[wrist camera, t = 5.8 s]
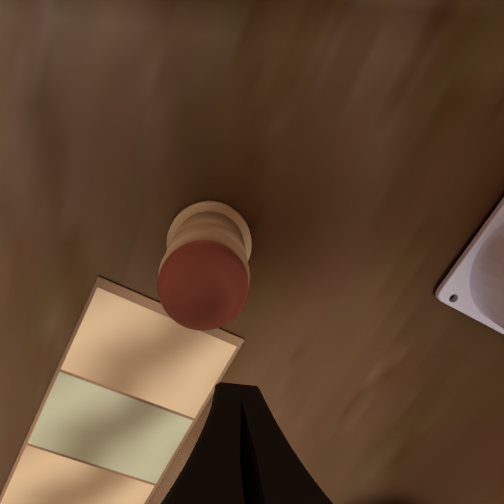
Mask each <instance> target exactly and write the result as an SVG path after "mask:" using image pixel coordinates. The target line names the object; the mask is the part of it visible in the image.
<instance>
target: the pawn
mask: <svg viewBox="0 0 504 504" xmlns="http://www.w3.org/2000/svg"><path fill="white" fill-rule="evenodd" d="M166 243H167V251H166V253H165V255H164V257H163V259H162V261H161V264H160V267H159V273H158V284H157V286H158V296H159V299H160V302H161V305H162V307H163V309H164V310H165V312H166V313H167V314H168V315H169V317H170V318H172V319H173V320H174V321H175V322H176V323H178V324H179V325H181V326H183V327H185V328H188V329H192V330H198V331H207V330H213V329H217V328H219V327H222V326H224V325H226V324H227V323H229V322H230V321H231V320H233V319H234V318H235V317H236V316H237V315H238V313H239V312H240V311H241V309H242V308H243V306H244V304H245V301H246V298H247V295H248V289H249V284H250V271H249V265H248V260H249V258H250V254H251V249H252V240H251V235H250V231H249V228H248V225H247V223H246V221H245V220H244V218H243V217H242V215H241V214H240V213H239V212H238V211H236V210H235V209H234V208H232V207H231V206H229V205H227V204H225V203H221V202H218V201H201V202H197V203H194V204H191V205H190V206H188V207H186V208H185V209H183V210H182V211H181V212H180V213H179V214H178V215H177V217H176V218H175V219H174V221H173V223H172V224H171V226H170V228H169V231H168V235H167V242H166Z"/></svg>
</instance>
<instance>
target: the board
mask: <svg viewBox="0 0 504 504" xmlns="http://www.w3.org/2000/svg"><path fill="white" fill-rule="evenodd" d="M244 340H245V339H243V338H241V337H239V336H236V335H234V334H232V333H229V332H227V331H225V330H222V329H220V328H217V329H213V330H207V331H198V330H192V329H188V328H185V327H183V326H181V325H179V324H178V323H176V322H175V321H174V320H173V319H172V318H170V317H169V315H168V314H167V313H166V312H165V310H164V309H163V307H162V305H161V303H160V302H158V301H156V300H153V299H151V298H149V297H146V296H144V295H142V294H139V293H137V292H135V291H132V290H130V289H128V288H126V287H123V286H121V285H119V284H116V283H114V282H112V281H109V280H107V279H105V278H102V277H100V276H98V277H97V280H96V282H95V284H94V286H93V289H92V291H91V293H90V295H89V298H88V300H87V302H86V304H85V307H84V309H83V311H82V313H81V316H80V318H79V320H78V322H77V325H76V327H75V329H74V331H73V334H72V336H71V338H70V340H69V343H68V345H67V347H66V349H65V352H64V354H63V356H62V358H61V360H60V363H59V365H58V367H57V369H56V372H55V374H54V376H53V378H52V381H51V383H50V385H49V387H48V390H47V392H46V394H45V396H44V399H43V401H42V403H41V405H40V408H39V410H38V412H37V414H36V417H35V419H34V421H33V423H32V426H31V428H30V430H29V432H28V435H27V437H26V439H25V441H24V444H23V446H22V448H21V450H20V453H19V455H18V457H17V459H16V462H15V464H14V466H13V468H12V471H11V473H10V475H9V477H8V480H7V482H6V484H5V486H4V488H3V491H2V493H1V495H0V504H147V503H148V502H149V500H150V498H151V497H152V495H153V493H154V492H155V490H156V488H157V487H158V485H159V483H160V482H161V480H162V478H163V477H164V475H165V473H166V471H167V470H168V468H169V466H170V465H171V463H172V461H173V460H174V458H175V456H176V455H177V453H178V451H179V450H180V448H181V446H182V445H183V443H184V441H185V440H186V438H187V436H188V434H189V433H190V431H191V429H192V428H193V426H194V424H195V423H196V421H197V419H198V418H199V416H200V414H201V413H202V411H203V409H204V408H205V406H206V404H207V402H208V401H209V399H210V397H211V396H212V394H213V392H214V390H215V385H216V384H218V383H219V382H220V381H221V379H222V377H223V376H224V374H225V372H226V371H227V369H228V367H229V365H230V364H231V362H232V360H233V359H234V357H235V355H236V354H237V352H238V350H239V349H240V347H241V345H242V344H243V342H244Z"/></svg>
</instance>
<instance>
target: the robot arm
mask: <svg viewBox="0 0 504 504" xmlns="http://www.w3.org/2000/svg"><path fill="white" fill-rule="evenodd" d="M453 294H454V296H453V298H452V299H449V298H450V296H451V295H453ZM435 295H436V298H437V299H439V300H440V301H441V302H443V303H445V304H447V305H449V306H451V307H453V308H455V309H456V310H458V311H460V312H462V313H464V314H466V315H468V316H470V317H472V318H474V319H475V320H477V321H479V322H481V323H483V324H485V325H487V326H489V327H491V328H493V329H494V330H496V331H498V332H500V333H502V334H504V197H503V199H502V200H501V202H500V203H499V204H498V206H497V207H496V208H495V210H494V211H493V213H492V214H491V215H490V217H489V218H488V219H487V221H486V222H485V224H484V225H483V226H482V228H481V229H480V230H479V232H478V233H477V235H476V236H475V237H474V239H473V240H472V241H471V243H470V244H469V246H468V247H467V248H466V250H465V251H464V252H463V254H462V255H461V257H460V258H459V259H458V261H457V262H456V263H455V265H454V266H453V268H452V269H451V270H450V272H449V273H448V274H447V276H446V277H445V279H444V280H443V281H442V283H441V284H440V285H439V287H438V288H437V290H436V292H435ZM161 504H333V503H332V502H331V501H330V500H329V498H328V497H327V496H326V495H325V494H324V492H323V491H322V490H321V489H320V487H319V486H318V485H317V483H316V482H315V481H314V480H313V478H312V477H311V475H310V474H309V473H308V471H307V470H306V468H305V467H304V466H303V464H302V463H301V461H300V460H299V458H298V457H297V455H296V454H295V452H294V451H293V449H292V448H291V446H290V444H289V443H288V441H287V440H286V438H285V436H284V435H283V433H282V431H281V429H280V428H279V426H278V424H277V423H276V421H275V419H274V417H273V415H272V413H271V411H270V410H269V408H268V406H267V404H266V402H265V400H264V398H263V396H262V394H261V391H260V389H259V388H258V387H257V386H251V385H242V384H232V383H222V382H219V383H218V384H216V385H215V390H214V396H213V401H212V406H211V410H210V413H209V415H208V418H207V420H206V423H205V425H204V428H203V430H202V432H201V435H200V437H199V439H198V441H197V443H196V445H195V447H194V449H193V451H192V453H191V455H190V457H189V459H188V460H187V462H186V464H185V466H184V468H183V469H182V471H181V473H180V475H179V476H178V478H177V480H176V481H175V483H174V484H173V486H172V488H171V489H170V491H169V492H168V494H167V495H166V497H165V498H164V500H163V501H162V503H161Z"/></svg>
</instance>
